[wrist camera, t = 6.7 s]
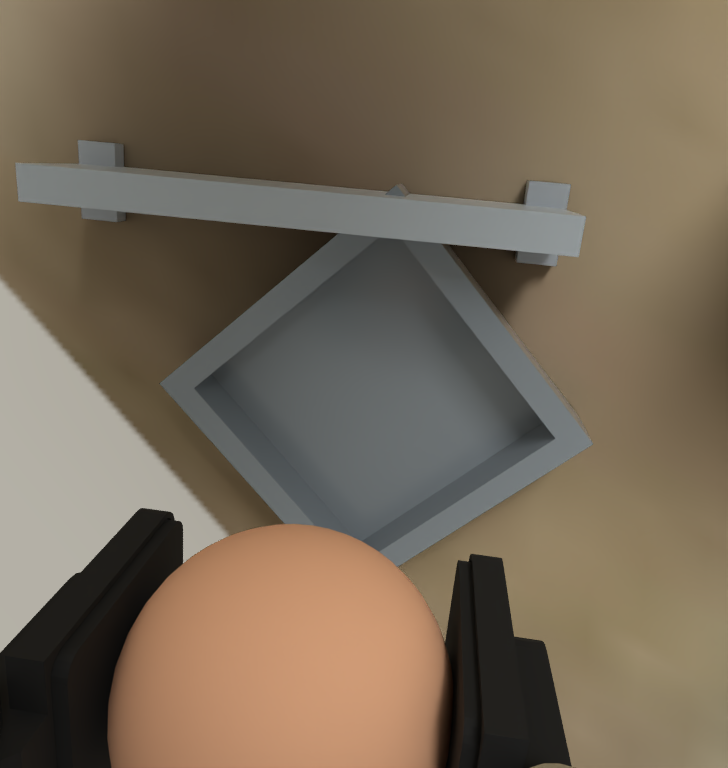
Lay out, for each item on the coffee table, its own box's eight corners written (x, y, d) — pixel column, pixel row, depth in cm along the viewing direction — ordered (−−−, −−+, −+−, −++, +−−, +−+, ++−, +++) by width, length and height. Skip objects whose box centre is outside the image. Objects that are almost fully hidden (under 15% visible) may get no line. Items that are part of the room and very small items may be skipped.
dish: (187, 362, 23) (159, 383, 21) (402, 183, 20) (396, 184, 18) (358, 557, 25) (349, 596, 22) (578, 415, 22) (593, 444, 20)
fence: (87, 140, 21) (9, 134, 17) (567, 183, 20) (595, 187, 16) (91, 217, 22) (17, 227, 18) (553, 263, 21) (577, 285, 17)
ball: (187, 453, 12) (10, 643, 7) (470, 491, 11) (488, 720, 6) (186, 681, 13) (41, 965, 8) (435, 722, 13) (429, 1043, 8)
